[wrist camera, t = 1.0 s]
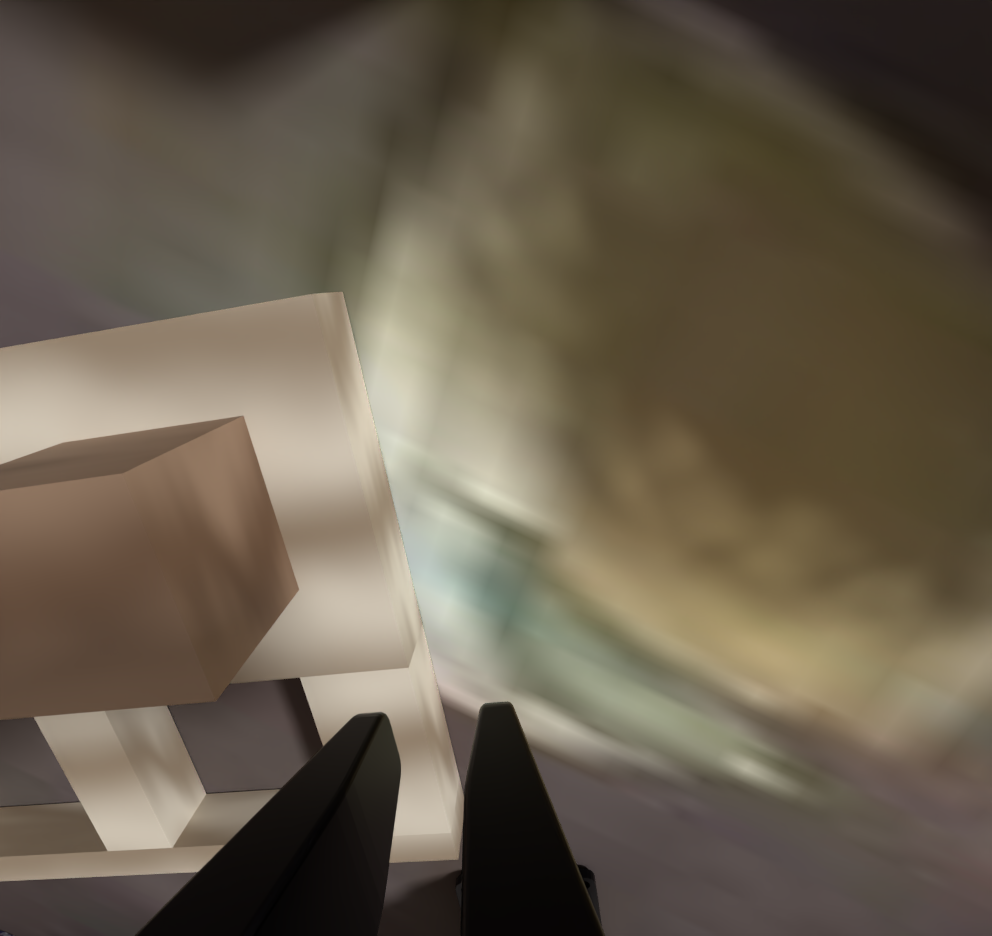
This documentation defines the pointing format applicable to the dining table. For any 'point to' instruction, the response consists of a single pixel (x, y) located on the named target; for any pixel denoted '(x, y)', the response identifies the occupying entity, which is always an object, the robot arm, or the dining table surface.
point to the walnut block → (135, 569)
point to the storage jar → (4, 934)
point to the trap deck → (302, 625)
